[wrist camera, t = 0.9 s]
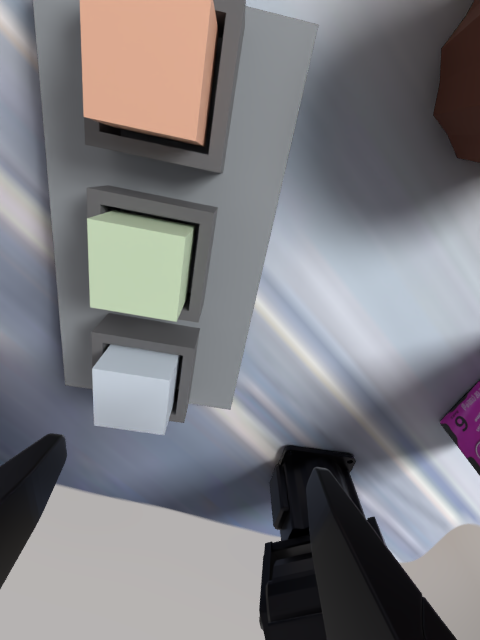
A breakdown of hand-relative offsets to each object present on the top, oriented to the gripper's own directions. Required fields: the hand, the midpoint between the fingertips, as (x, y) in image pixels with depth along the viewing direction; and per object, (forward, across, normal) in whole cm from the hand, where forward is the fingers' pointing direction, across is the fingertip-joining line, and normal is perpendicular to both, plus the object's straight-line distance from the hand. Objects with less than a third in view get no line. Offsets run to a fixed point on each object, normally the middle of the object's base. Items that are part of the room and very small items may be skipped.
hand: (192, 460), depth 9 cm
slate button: (+10, +4, +4) cm, 11 cm away
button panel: (+13, +4, -3) cm, 14 cm away
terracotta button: (+10, +4, -11) cm, 15 cm away
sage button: (+9, +4, -3) cm, 11 cm away
